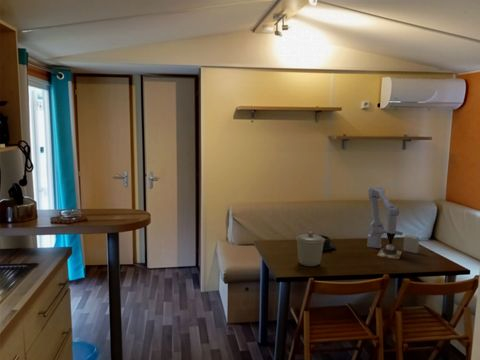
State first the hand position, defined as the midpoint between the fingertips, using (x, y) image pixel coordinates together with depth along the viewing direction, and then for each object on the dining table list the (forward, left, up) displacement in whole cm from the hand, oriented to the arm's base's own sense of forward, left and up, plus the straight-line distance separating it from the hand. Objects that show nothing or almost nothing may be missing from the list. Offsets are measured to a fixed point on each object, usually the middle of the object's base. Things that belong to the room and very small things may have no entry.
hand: (390, 244), depth 287 cm
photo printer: (+12, +15, -8) cm, 21 cm away
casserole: (-47, -13, -8) cm, 49 cm away
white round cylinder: (0, 0, -6) cm, 6 cm away
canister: (-42, -50, -8) cm, 66 cm away
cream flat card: (0, 0, -7) cm, 7 cm away
